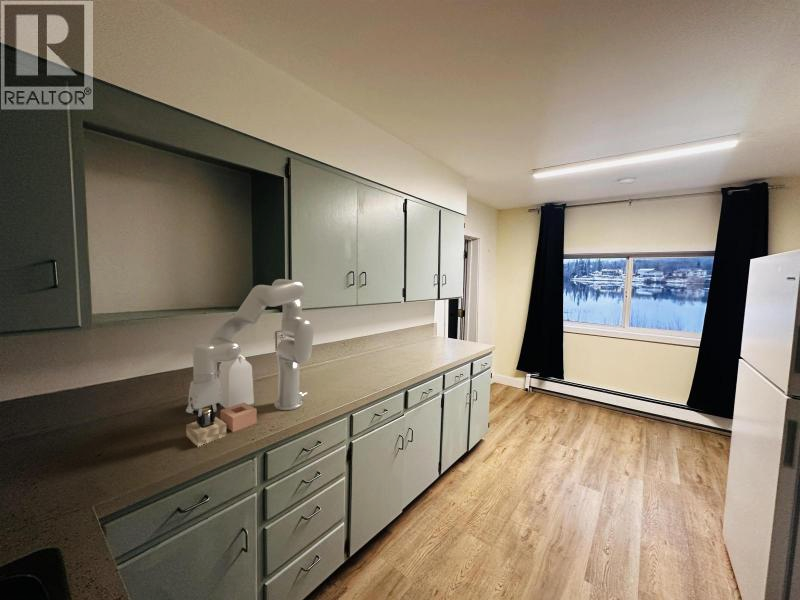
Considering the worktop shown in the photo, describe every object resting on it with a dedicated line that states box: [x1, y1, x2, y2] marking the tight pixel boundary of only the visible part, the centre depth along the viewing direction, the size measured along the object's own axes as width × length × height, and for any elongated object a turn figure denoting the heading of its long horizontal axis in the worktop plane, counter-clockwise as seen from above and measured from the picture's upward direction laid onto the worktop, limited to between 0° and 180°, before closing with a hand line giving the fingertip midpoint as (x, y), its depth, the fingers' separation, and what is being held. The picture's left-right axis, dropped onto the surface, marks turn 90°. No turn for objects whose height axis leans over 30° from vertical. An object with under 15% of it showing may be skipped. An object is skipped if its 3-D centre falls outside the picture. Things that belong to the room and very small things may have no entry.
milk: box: [218, 353, 255, 409], centre depth 153 cm, size 12×12×26 cm
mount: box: [185, 416, 227, 448], centre depth 124 cm, size 10×10×5 cm
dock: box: [220, 403, 258, 433], centre depth 135 cm, size 10×10×6 cm
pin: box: [202, 407, 212, 428], centre depth 124 cm, size 4×4×11 cm
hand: (206, 422), depth 124 cm, fingers closed on pin, 3 cm apart
